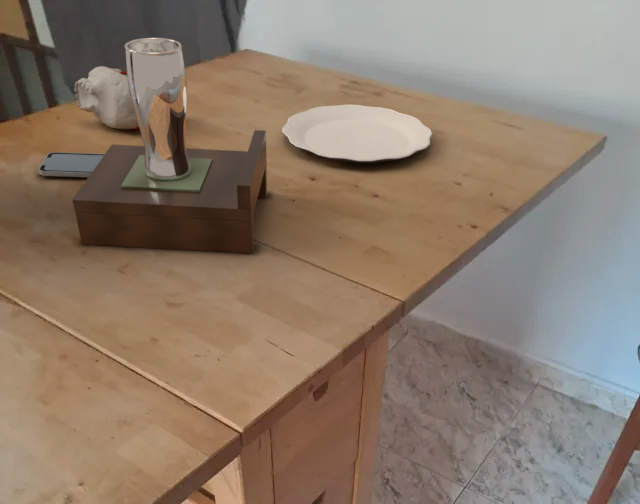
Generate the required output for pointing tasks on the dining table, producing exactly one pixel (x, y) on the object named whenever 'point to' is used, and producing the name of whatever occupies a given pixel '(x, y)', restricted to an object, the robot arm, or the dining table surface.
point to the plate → (357, 133)
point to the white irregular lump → (107, 97)
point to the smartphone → (69, 164)
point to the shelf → (174, 200)
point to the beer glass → (159, 104)
